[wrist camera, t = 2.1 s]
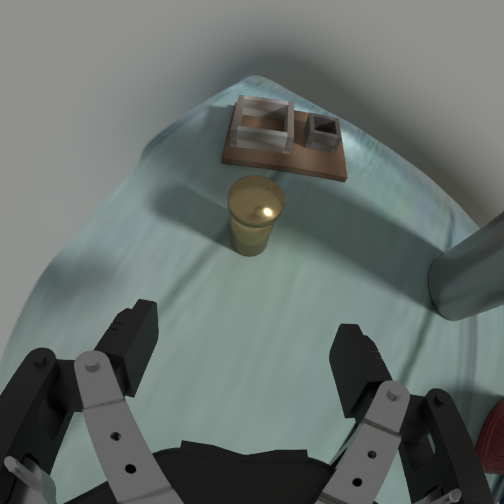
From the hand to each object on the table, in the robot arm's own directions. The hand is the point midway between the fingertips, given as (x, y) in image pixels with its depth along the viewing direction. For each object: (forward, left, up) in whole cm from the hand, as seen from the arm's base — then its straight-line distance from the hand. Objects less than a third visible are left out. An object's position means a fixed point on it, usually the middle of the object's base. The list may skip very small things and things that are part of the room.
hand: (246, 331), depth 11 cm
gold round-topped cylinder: (0, -11, -15) cm, 19 cm away
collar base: (-4, -27, -15) cm, 31 cm away
